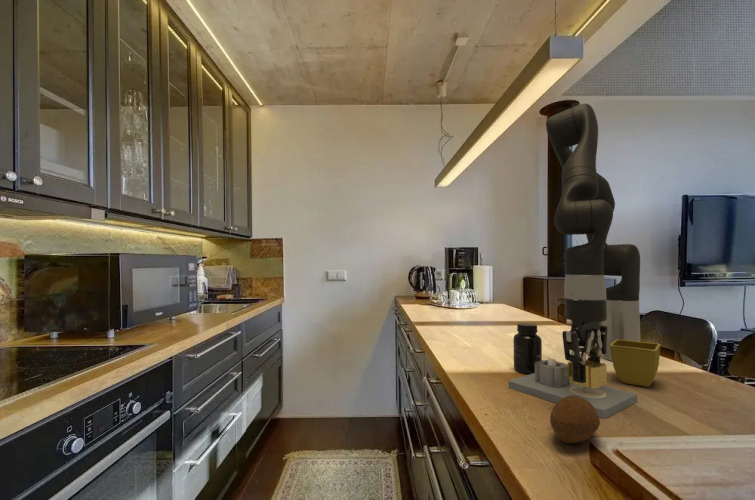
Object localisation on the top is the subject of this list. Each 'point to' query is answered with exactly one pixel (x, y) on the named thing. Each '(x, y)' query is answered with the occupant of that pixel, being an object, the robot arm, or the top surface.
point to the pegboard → (577, 393)
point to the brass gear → (591, 374)
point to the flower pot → (635, 361)
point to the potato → (574, 419)
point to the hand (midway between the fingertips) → (587, 378)
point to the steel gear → (551, 374)
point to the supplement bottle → (527, 348)
